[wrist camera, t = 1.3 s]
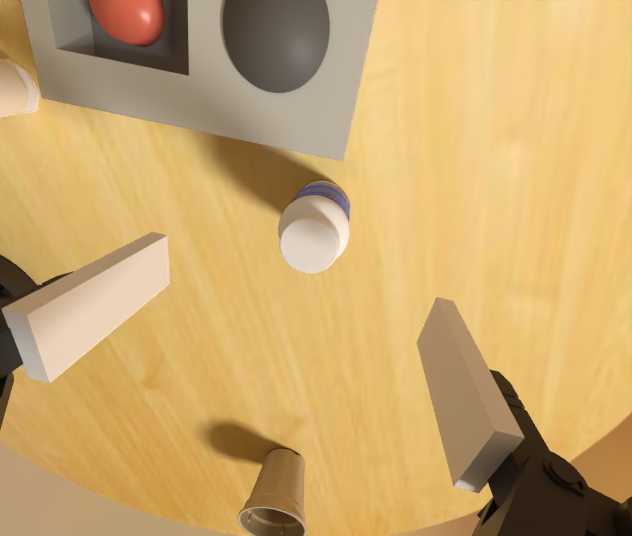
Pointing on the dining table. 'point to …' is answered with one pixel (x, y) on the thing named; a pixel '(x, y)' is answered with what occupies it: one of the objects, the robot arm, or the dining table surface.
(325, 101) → the grey recessed tray
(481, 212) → the dining table surface
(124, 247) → the robot arm
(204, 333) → the dining table surface
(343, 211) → the pill bottle
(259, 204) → the dining table surface
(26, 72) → the cup
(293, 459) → the flower pot
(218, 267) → the dining table surface
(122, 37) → the breaker button
